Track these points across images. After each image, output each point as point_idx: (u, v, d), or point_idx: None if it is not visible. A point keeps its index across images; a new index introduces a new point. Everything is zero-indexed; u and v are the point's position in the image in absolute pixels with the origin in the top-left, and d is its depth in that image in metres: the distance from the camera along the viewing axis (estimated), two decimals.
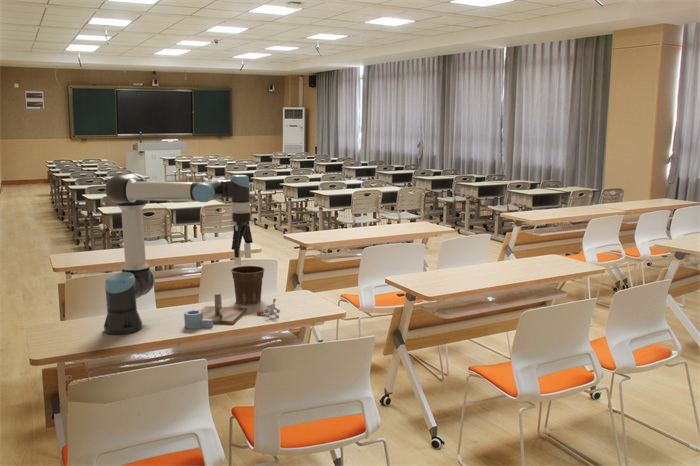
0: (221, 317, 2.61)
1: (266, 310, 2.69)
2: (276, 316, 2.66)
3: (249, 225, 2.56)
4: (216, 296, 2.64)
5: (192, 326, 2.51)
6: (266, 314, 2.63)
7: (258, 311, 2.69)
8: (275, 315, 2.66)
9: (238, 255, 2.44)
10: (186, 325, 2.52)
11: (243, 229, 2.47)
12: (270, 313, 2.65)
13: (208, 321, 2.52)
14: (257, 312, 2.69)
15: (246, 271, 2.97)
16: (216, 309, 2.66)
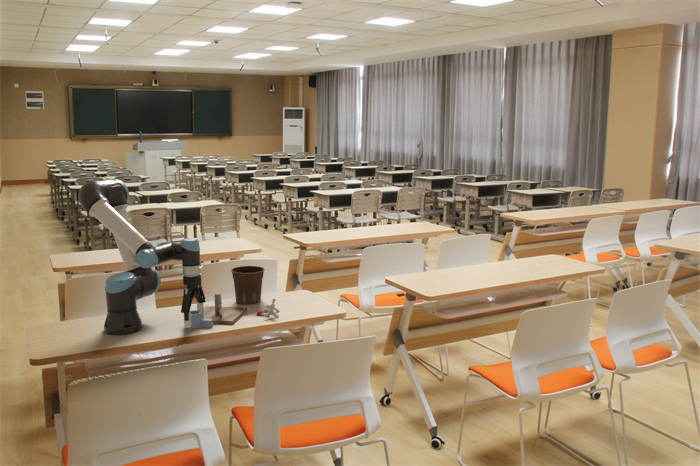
0: (221, 317, 2.61)
1: (265, 310, 2.69)
2: (275, 316, 2.66)
3: (201, 286, 2.58)
4: (216, 296, 2.64)
5: (192, 326, 2.51)
6: (265, 314, 2.63)
7: (257, 311, 2.69)
8: (274, 315, 2.66)
9: (188, 318, 2.45)
10: None
11: (193, 292, 2.49)
12: (269, 313, 2.65)
13: (208, 321, 2.52)
14: (256, 312, 2.69)
15: (246, 271, 2.97)
16: (216, 309, 2.66)
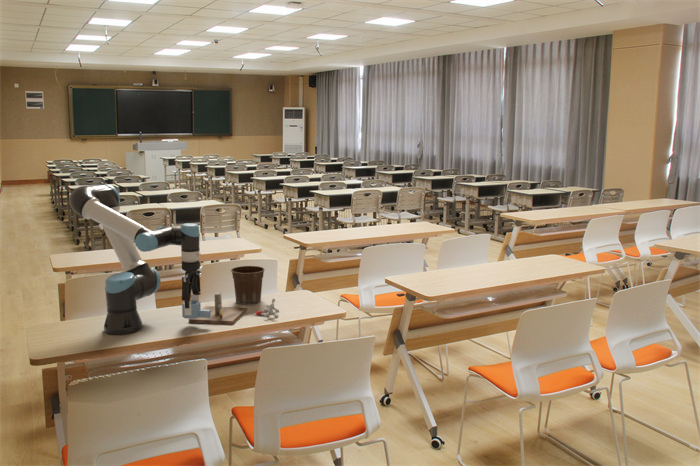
0: (221, 317, 2.61)
1: (265, 310, 2.69)
2: (275, 316, 2.66)
3: (199, 275, 2.57)
4: (216, 296, 2.64)
5: (190, 316, 2.50)
6: (265, 314, 2.63)
7: (257, 311, 2.69)
8: (274, 315, 2.66)
9: (188, 306, 2.48)
10: (184, 315, 2.51)
11: (192, 278, 2.49)
12: (269, 313, 2.65)
13: (206, 312, 2.52)
14: (256, 312, 2.69)
15: (246, 271, 2.97)
16: (216, 309, 2.66)
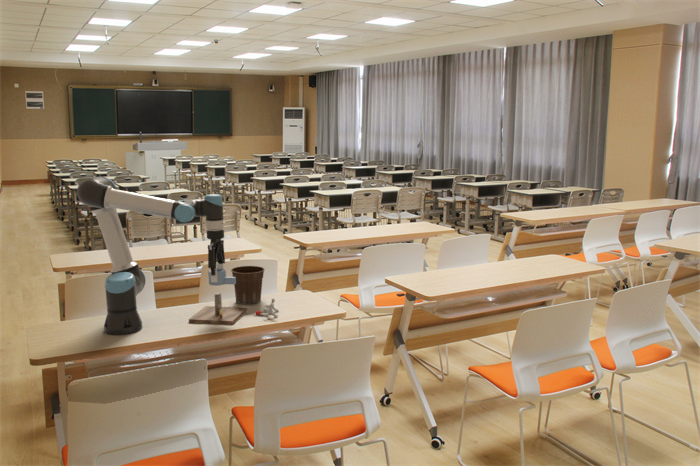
0: (221, 317, 2.61)
1: (265, 310, 2.69)
2: (275, 316, 2.66)
3: (223, 244, 2.68)
4: (216, 296, 2.64)
5: (216, 283, 2.61)
6: (264, 314, 2.63)
7: (257, 311, 2.69)
8: (274, 315, 2.66)
9: (214, 273, 2.59)
10: (210, 282, 2.62)
11: (217, 247, 2.60)
12: (269, 313, 2.65)
13: (231, 278, 2.63)
14: (256, 312, 2.69)
15: (246, 271, 2.97)
16: (216, 309, 2.66)
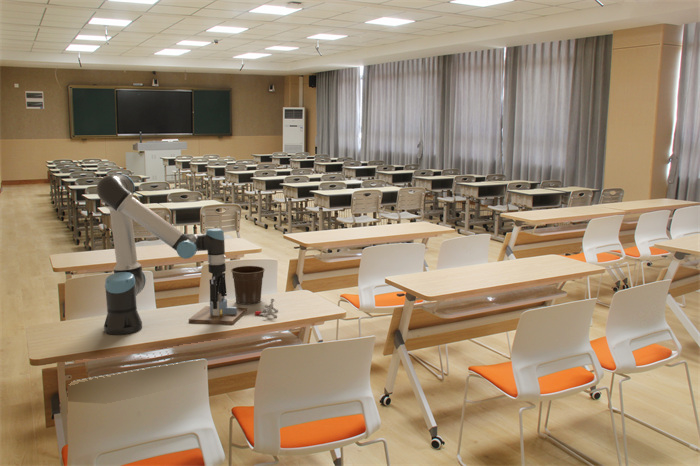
0: (221, 317, 2.61)
1: (264, 310, 2.69)
2: (274, 316, 2.66)
3: None
4: None
5: None
6: (264, 314, 2.63)
7: (256, 311, 2.69)
8: (273, 315, 2.66)
9: (216, 307, 2.62)
10: (212, 312, 2.65)
11: (219, 280, 2.62)
12: (268, 313, 2.65)
13: (233, 309, 2.65)
14: (255, 312, 2.69)
15: (246, 271, 2.97)
16: None
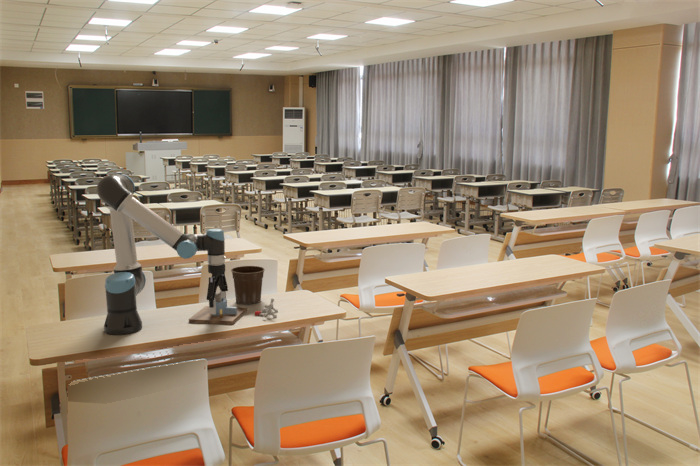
0: (221, 317, 2.61)
1: (264, 310, 2.69)
2: (274, 316, 2.65)
3: (224, 274, 2.71)
4: (216, 296, 2.64)
5: (217, 313, 2.64)
6: (264, 314, 2.63)
7: (256, 311, 2.69)
8: (273, 315, 2.66)
9: (213, 305, 2.59)
10: None
11: (218, 280, 2.62)
12: (268, 313, 2.65)
13: (233, 309, 2.65)
14: (255, 312, 2.69)
15: (246, 271, 2.97)
16: None
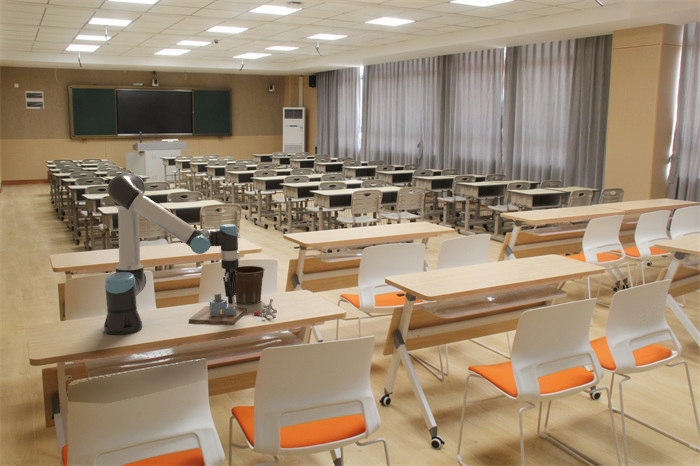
0: (221, 317, 2.61)
1: (263, 310, 2.69)
2: (273, 316, 2.65)
3: (236, 276, 2.70)
4: (216, 296, 2.64)
5: (216, 313, 2.63)
6: (263, 314, 2.62)
7: (255, 311, 2.69)
8: (272, 315, 2.66)
9: (232, 301, 2.65)
10: (211, 312, 2.64)
11: (232, 276, 2.62)
12: (267, 313, 2.65)
13: (232, 309, 2.64)
14: (254, 312, 2.69)
15: (246, 271, 2.97)
16: None
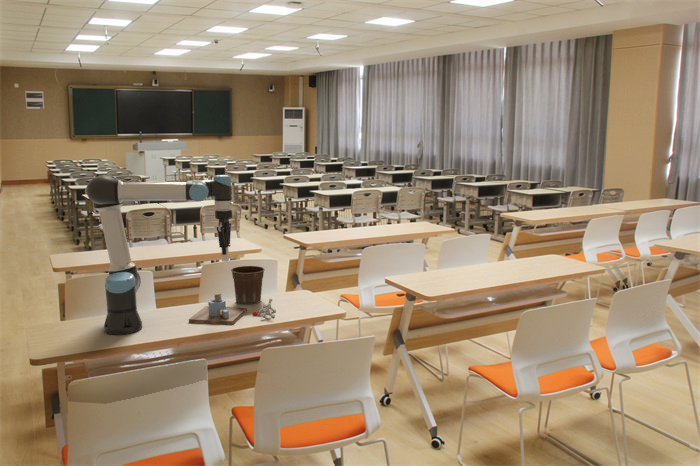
0: (221, 317, 2.61)
1: (262, 310, 2.68)
2: (272, 316, 2.65)
3: (230, 227, 2.72)
4: (216, 296, 2.64)
5: (211, 313, 2.63)
6: (261, 314, 2.62)
7: (254, 311, 2.69)
8: (271, 315, 2.66)
9: (225, 252, 2.67)
10: None
11: (226, 227, 2.64)
12: (266, 313, 2.65)
13: (223, 312, 2.60)
14: (253, 312, 2.69)
15: (246, 271, 2.97)
16: None
